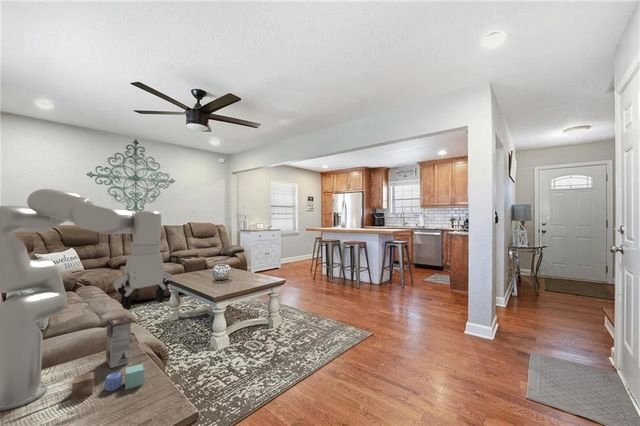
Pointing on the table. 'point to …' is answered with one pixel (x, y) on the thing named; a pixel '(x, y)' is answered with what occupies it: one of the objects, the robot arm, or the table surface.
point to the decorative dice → (113, 381)
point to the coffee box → (118, 341)
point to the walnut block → (82, 385)
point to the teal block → (134, 376)
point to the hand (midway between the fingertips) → (143, 305)
